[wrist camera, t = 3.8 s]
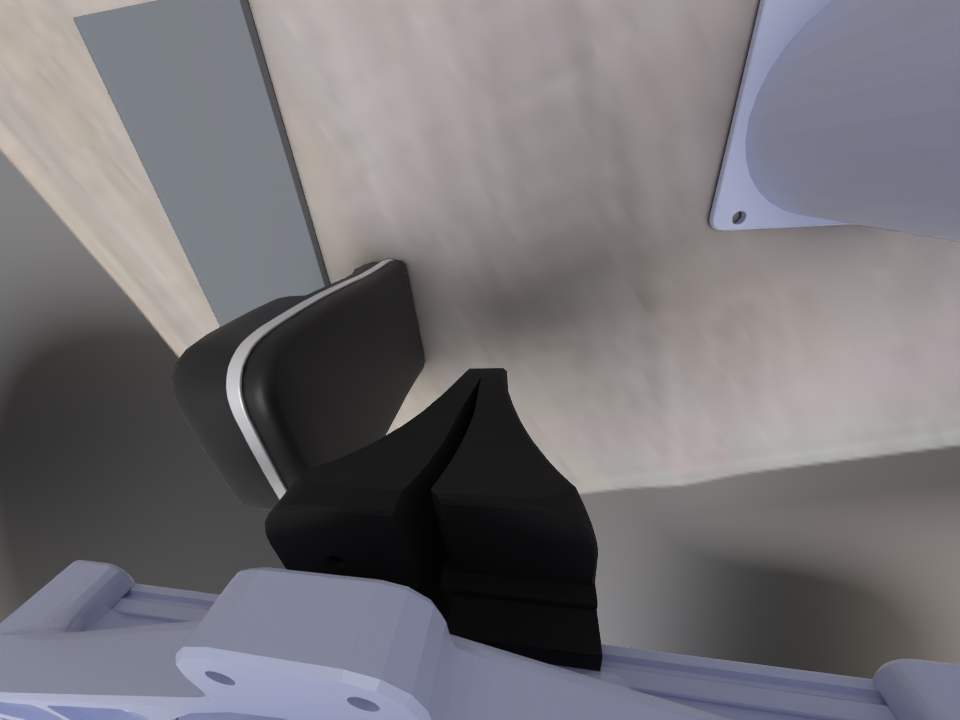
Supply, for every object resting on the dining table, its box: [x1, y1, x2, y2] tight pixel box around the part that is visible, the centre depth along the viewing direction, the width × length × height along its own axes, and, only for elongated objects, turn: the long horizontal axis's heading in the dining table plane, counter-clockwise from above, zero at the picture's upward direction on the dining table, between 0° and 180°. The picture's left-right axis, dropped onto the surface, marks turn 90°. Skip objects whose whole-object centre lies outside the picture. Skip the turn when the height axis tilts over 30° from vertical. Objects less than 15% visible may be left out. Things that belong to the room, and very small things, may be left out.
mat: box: [73, 0, 330, 327], centre depth 19 cm, size 8×20×1 cm, turn 5°
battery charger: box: [172, 259, 424, 511], centre depth 15 cm, size 7×4×11 cm, turn 6°
